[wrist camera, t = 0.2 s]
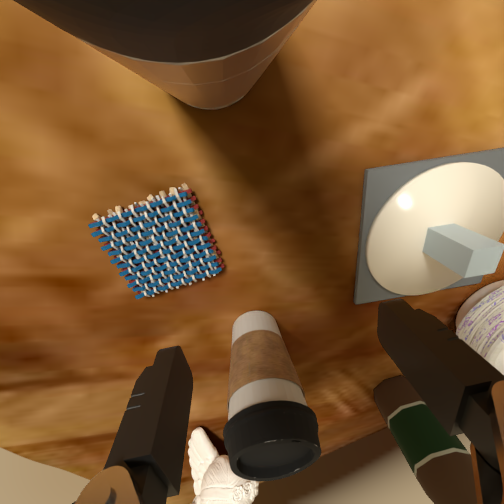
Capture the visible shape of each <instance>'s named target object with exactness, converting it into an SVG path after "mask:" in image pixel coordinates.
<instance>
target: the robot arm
mask: <svg viewBox="0 0 504 504" xmlns="http://www.w3.org/2000/svg"><path fill="white" fill-rule="evenodd" d="M14 1H15V2H17V3H19V4H20V5H22V6H24V7H25V8H27V9H29V10H30V11H32V12H34V13H36V14H37V15H39V16H41V17H42V18H44V19H46V20H47V21H49V22H51V23H52V24H54V25H55V26H57V27H59V28H60V29H62V30H64V31H66V32H68V33H70V34H71V35H73V36H75V37H77V38H78V39H80V40H81V41H83V42H85V43H86V44H88V45H90V46H91V47H93V48H95V49H96V50H98V51H100V52H101V53H103V54H105V55H106V56H108V57H110V58H112V59H113V60H115V61H117V62H118V63H120V64H122V65H123V66H125V67H127V68H128V69H130V70H131V71H133V72H135V73H136V74H138V75H140V76H141V77H143V78H145V79H146V80H148V81H149V82H151V83H153V84H154V85H156V86H158V87H159V88H161V89H163V90H164V91H166V92H167V93H169V94H171V95H172V96H174V97H176V98H177V99H179V100H181V101H182V102H184V103H186V104H188V105H190V106H192V107H196V108H200V109H205V110H214V109H221V108H225V107H228V106H230V105H232V104H234V103H236V102H237V101H239V100H240V99H241V98H243V97H244V96H245V95H246V94H247V93H248V92H249V90H250V89H251V88H252V86H253V85H254V84H255V83H256V81H257V80H258V79H259V78H260V76H261V75H262V74H263V72H264V71H265V70H266V68H267V67H268V66H269V64H270V63H271V62H272V60H273V59H274V58H275V56H276V55H277V54H278V52H279V51H280V50H281V48H282V47H283V46H284V44H285V43H286V42H287V40H288V39H289V38H290V36H291V35H292V33H293V32H294V31H295V29H296V28H297V27H298V25H299V24H300V22H301V21H302V20H303V18H304V17H305V15H306V14H307V13H308V11H309V10H310V9H311V7H312V6H313V5H314V3H315V2H316V1H317V0H14ZM377 333H378V338H379V341H380V343H381V345H382V346H383V348H384V349H385V351H386V352H387V353H388V355H389V356H390V357H391V359H392V360H393V361H394V363H395V364H396V365H397V367H398V368H399V369H400V370H401V372H402V373H403V374H404V376H405V377H406V378H407V380H408V381H409V382H410V384H411V385H412V386H413V388H414V389H415V390H416V392H417V393H418V394H419V396H420V397H421V398H422V400H423V401H424V402H425V404H426V405H427V406H428V408H429V409H430V410H431V412H432V413H433V414H434V416H435V417H436V418H437V420H438V421H439V422H440V424H441V425H442V426H443V428H444V429H445V430H446V432H447V433H448V434H449V436H453V435H458V434H462V433H464V434H465V435H466V436H467V438H468V439H469V440H470V441H471V445H470V450H471V458H472V466H473V474H474V482H475V489H476V497H477V504H504V375H503V374H502V373H501V372H499V371H498V370H497V369H496V368H495V367H494V366H492V365H491V364H490V363H489V362H488V361H486V360H485V359H484V358H483V357H482V356H481V355H479V354H478V353H477V352H476V351H475V350H474V349H472V348H471V347H470V346H469V345H468V344H467V343H465V342H464V341H463V340H462V339H459V338H458V336H457V335H456V334H455V333H454V332H452V331H451V330H449V329H448V327H447V326H445V325H444V324H443V323H442V322H441V321H440V320H438V319H437V318H436V317H435V316H433V315H431V314H429V313H427V312H425V311H423V310H421V309H416V310H414V309H413V308H412V307H411V306H410V305H409V304H407V303H406V302H405V301H404V300H402V299H395V300H391V301H386V302H382V303H380V304H379V308H378V327H377ZM192 391H193V377H192V372H191V370H190V367H189V365H188V363H187V360H186V358H185V356H184V354H183V351H182V349H181V347H180V346H174V347H170V348H165V349H160V350H159V351H158V352H157V355H156V358H155V361H154V364H153V366H149V367H146V368H145V370H144V371H143V372H142V374H141V375H140V376H139V378H138V379H137V380H136V383H135V386H134V389H133V391H132V394H131V398H130V400H129V402H128V405H127V410H126V411H125V413H124V416H123V419H122V421H121V424H120V427H119V430H118V432H117V435H116V438H115V440H114V443H113V446H112V449H111V451H110V454H109V457H108V460H107V462H106V464H105V467H104V469H103V471H101V472H100V473H99V474H97V475H96V476H95V477H94V478H93V479H92V480H91V481H90V482H89V483H88V484H87V485H86V486H85V488H84V489H83V490H82V492H81V493H80V495H79V497H78V499H77V500H76V501H75V502H74V503H72V504H166V499H167V497H171V496H175V495H179V491H180V483H181V475H182V468H183V460H184V452H185V445H186V437H187V429H188V421H189V414H190V406H191V398H192Z"/></svg>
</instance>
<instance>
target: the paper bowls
mask: <svg viewBox="0 0 504 504" xmlns="http://www.w3.org/2000/svg"><path fill="white" fill-rule="evenodd" d="M456 328H457V330H456V335H457V336H458V338H459V339H462V340H463V341H464V342H465V343H467V344H468V345H469V346H470V347H471V348H472V349H474V350H475V351H476V352H477V353H478V354H479V355H481V356H482V357H483V358H484V359H485V360H486V361H488V362H489V363H490V364H491V365H492V366H494V367H495V368H496V369H497V370H498V371H499V372H501V373H502V374H503V375H504V280H502V281H497V282H494V283H491V284H489V285H487V286H485V287H483V288H481V289H479V290H478V291H476V292H475V293H474V294H472V295H471V296H470V297H469V298H468V299H467V300H466V301H465V302H464V303H463V305H462V306H461V308H460V309H459V311H458V314H457V317H456Z"/></svg>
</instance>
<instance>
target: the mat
mask: <svg viewBox="0 0 504 504" xmlns="http://www.w3.org/2000/svg"><path fill="white" fill-rule="evenodd" d="M451 162H471V163H477V164H481V165H485V166H487V167H490V168H492V169H493V170H495V171H496V172H498V173H499V174H500V175H501V177H502V178H503V179H504V148H498V149H492V150H485V151H479V152H473V153H466V154H460V155H453V156H447V157H441V158H434V159H428V160H422V161H415V162H409V163H402V164H396V165H390V166H383V167H377V168H370V169H365V174H364V186H363V198H362V209H361V221H360V233H359V245H358V256H357V268H356V280H355V292H354V303H355V304H356V305H357V304H363V303H368V302H374V301H380V300H385V299H391V298H397V297H403V296H408V295H401V294H397V293H394V292H391V291H389V290H387V289H386V288H384V287H383V286H381V285H380V284H379V283H378V282H377V281H376V280H375V279H374V277H373V276H372V275H371V273H370V271H369V269H368V267H367V263H366V258H365V245H366V239H367V236H368V232H369V229H370V227H371V225H372V222H373V220H374V218H375V217H376V215H377V213H378V211H379V210H380V209H381V207H382V206H383V205H384V203H385V202H386V201H387V200H388V199H389V197H390V196H391V195H392V194H393V193H394V192H395V191H396V190H397V189H398V188H400V187H401V186H402V185H403V184H405V183H406V182H407V181H408V180H410V179H411V178H413V177H415V176H416V175H418V174H419V173H421V172H424V171H426V170H428V169H430V168H433V167H435V166H438V165H442V164H446V163H451ZM482 277H483V275H479V276H473V277H468V278H462V279H460V280H459V281H457V282H455V283H453V284H451V285H450V286H448V287H445V288H443V289H448V288H454V287H460V286H466V285H471V284H477V283H480V282H481V280H482ZM443 289H440V290H443Z"/></svg>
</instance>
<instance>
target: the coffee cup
mask: <svg viewBox="0 0 504 504" xmlns="http://www.w3.org/2000/svg"><path fill="white" fill-rule="evenodd" d="M227 410H228V413H229V416H228V422H227V423H226V425H225V427H224V430H223V436H224V445H225V448H226V450H227V452H228V457H229V464H230V468H231V470H232V472H233V473H234V474H235V475H237V476H238V477H240V478H243V479H246V480H251V481H271V480H277V479H282V478H285V477H288V476H291V475H294V474H296V473H298V472H300V471H302V470H304V469H306V468H307V467H309V466H310V465H312V464H313V463H314V462H315V461H316V460H317V459H318V458H319V457H320V455H321V448H320V443H319V438H318V423H317V418H316V415H315V413H314V412H313V411H312V409H310V408H309V407H308V406H307V404H306V401H305V392H304V390H303V387H302V385H301V382H300V380H299V377H298V375H297V373H296V370H295V368H294V365H293V363H292V360H291V358H290V355H289V353H288V351H287V348H286V346H285V343H284V341H283V339H282V337H281V334H280V331H279V328H278V326H277V323H276V321H275V319H274V318H273V316H271V315H270V314H268V313H266V312H264V311H250V312H247V313H245V314H243V315H241V316H240V317H238V319H237V320H236V321H235V323H234V325H233V333H232V348H231V360H230V373H229V386H228V398H227Z"/></svg>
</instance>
